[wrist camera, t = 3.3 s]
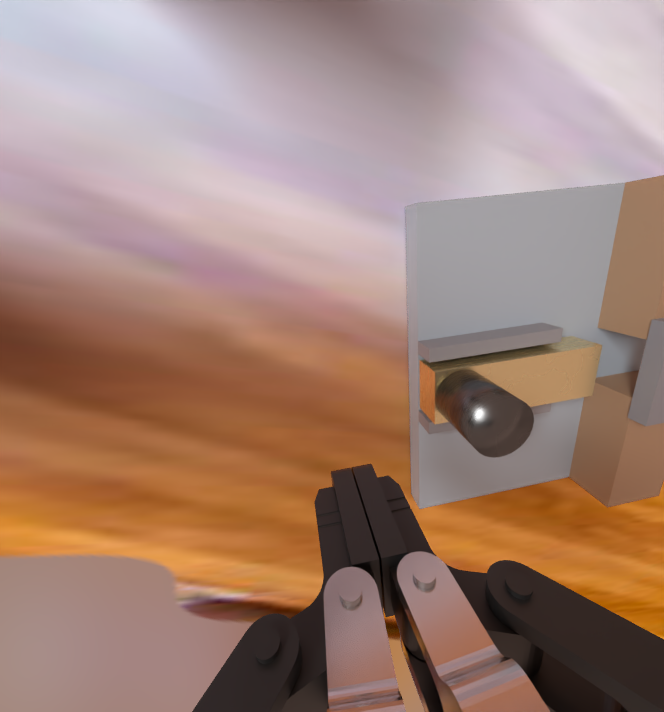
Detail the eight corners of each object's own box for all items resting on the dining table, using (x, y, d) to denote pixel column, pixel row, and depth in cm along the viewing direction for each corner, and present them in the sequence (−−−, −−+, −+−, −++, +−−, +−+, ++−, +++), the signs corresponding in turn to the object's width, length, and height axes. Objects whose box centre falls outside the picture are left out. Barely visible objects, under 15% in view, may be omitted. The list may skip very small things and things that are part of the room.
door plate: (411, 493, 24) (447, 560, 19) (405, 207, 17) (459, 188, 12) (598, 454, 26) (678, 506, 21) (660, 181, 19) (802, 156, 14)
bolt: (419, 407, 19) (470, 464, 14) (419, 359, 18) (473, 403, 13) (563, 382, 21) (658, 426, 15) (571, 335, 19) (676, 366, 14)
